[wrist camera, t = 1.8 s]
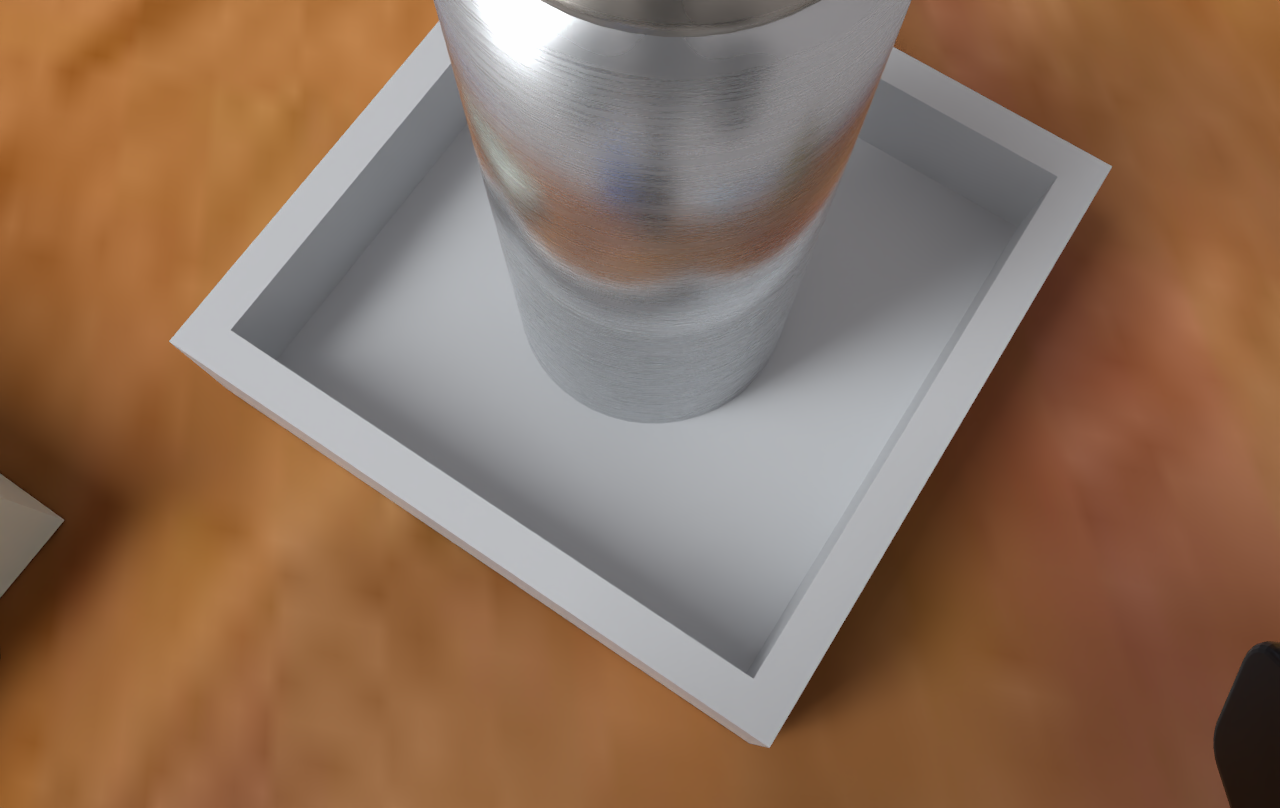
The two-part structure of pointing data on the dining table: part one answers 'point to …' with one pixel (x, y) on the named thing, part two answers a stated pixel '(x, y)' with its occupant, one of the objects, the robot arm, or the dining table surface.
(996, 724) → the dining table surface
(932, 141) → the grey bin
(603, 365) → the brushed metal cylinder
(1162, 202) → the dining table surface
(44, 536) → the sage bin
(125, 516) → the dining table surface
